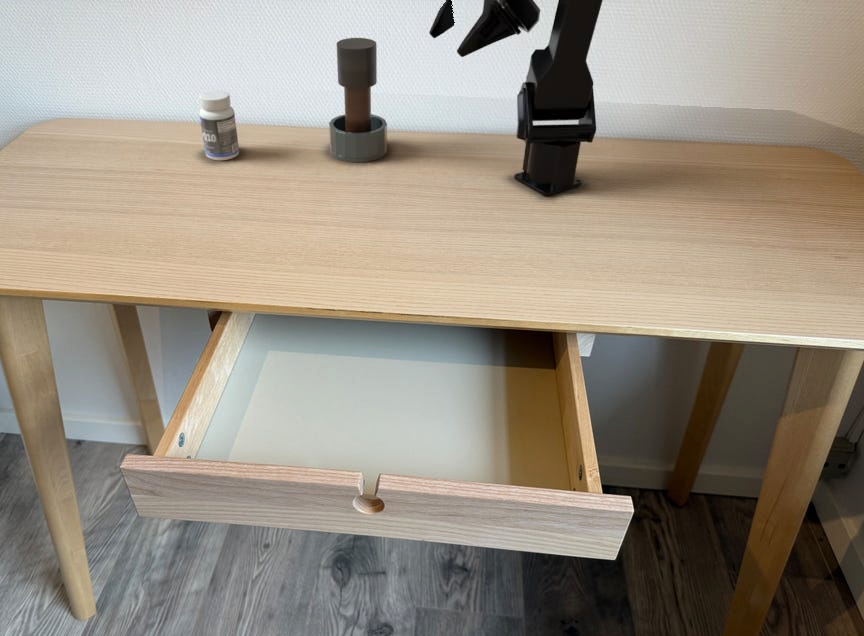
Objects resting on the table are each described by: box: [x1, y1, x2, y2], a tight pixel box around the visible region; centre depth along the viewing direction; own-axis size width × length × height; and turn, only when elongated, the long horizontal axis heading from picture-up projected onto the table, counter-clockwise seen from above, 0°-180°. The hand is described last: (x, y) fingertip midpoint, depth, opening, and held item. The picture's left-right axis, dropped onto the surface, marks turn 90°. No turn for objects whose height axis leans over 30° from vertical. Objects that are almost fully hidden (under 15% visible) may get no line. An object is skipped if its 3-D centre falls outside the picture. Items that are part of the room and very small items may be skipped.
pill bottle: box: [198, 89, 240, 161], centre depth 98 cm, size 5×5×8 cm
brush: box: [336, 37, 378, 133], centre depth 97 cm, size 5×5×14 cm
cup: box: [328, 113, 388, 163], centre depth 101 cm, size 8×8×4 cm
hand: (444, 44), depth 96 cm, fingers open, 9 cm apart
